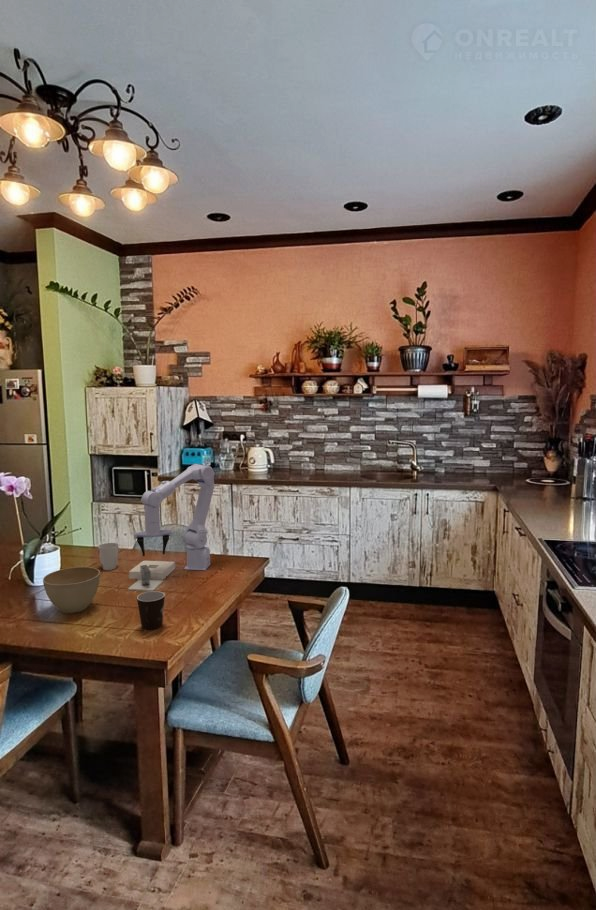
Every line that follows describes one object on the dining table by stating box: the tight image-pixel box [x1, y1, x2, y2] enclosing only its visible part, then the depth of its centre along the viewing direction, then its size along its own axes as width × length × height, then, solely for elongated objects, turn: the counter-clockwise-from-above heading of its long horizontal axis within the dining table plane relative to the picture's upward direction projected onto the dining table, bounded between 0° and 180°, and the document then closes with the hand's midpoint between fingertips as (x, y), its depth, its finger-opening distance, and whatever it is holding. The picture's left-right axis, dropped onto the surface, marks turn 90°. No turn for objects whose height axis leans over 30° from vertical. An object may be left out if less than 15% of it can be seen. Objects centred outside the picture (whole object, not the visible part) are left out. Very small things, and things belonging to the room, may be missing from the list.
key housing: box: [128, 560, 176, 581], centre depth 222 cm, size 14×14×3 cm
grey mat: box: [127, 579, 164, 592], centre depth 208 cm, size 10×10×1 cm
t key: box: [140, 565, 151, 586], centre depth 208 cm, size 8×3×6 cm, turn 26°
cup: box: [97, 542, 119, 571], centre depth 228 cm, size 8×8×10 cm
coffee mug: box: [136, 590, 166, 631], centre depth 171 cm, size 12×9×10 cm
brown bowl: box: [42, 566, 101, 614], centre depth 186 cm, size 18×18×12 cm
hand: (153, 554), depth 215 cm, fingers open, 7 cm apart
